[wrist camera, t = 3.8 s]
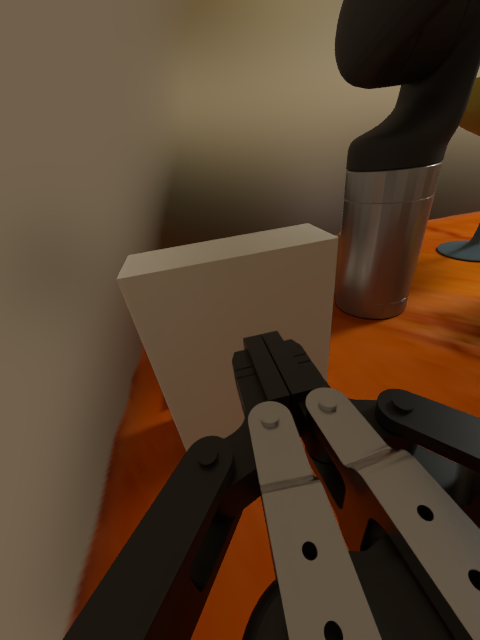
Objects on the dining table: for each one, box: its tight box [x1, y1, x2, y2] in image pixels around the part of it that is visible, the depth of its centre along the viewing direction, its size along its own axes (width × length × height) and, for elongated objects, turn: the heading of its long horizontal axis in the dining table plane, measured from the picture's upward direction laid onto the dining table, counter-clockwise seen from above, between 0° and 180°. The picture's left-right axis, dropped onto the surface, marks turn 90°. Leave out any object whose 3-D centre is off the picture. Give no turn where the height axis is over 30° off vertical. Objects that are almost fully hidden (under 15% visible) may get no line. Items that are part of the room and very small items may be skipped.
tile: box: [117, 223, 339, 452], centre depth 20 cm, size 4×12×16 cm, turn 102°
